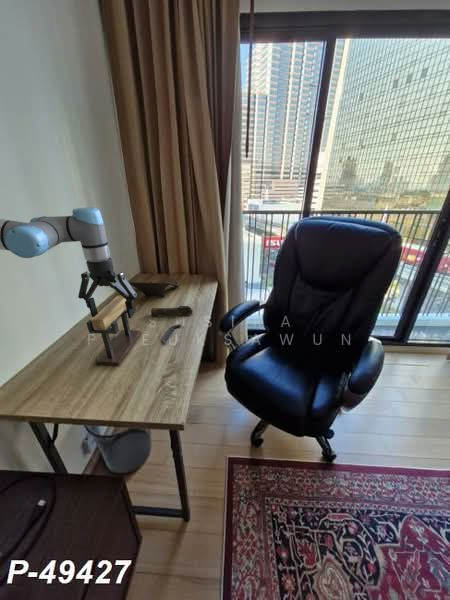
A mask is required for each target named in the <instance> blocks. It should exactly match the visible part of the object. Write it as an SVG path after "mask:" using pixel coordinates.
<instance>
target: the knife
mask: <svg viewBox="0 0 450 600" xmlns="http://www.w3.org/2000/svg"><path fill="white" fill-rule="evenodd" d="M181 327H182V325H181V324H174V325H172V326H171V327H170V328H169V329H168V330H167V332H166V334H165V335H164V337H162V341H163V343H164V344H165V345H166V344H167V343H168V342H169V340H170V339H171V338H172V336H173V335H174V333H175V331H176V330H175V329H177V328H181Z"/></svg>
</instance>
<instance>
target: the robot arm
mask: <svg viewBox="0 0 450 600" xmlns="http://www.w3.org/2000/svg"><path fill="white" fill-rule="evenodd" d="M71 212H72V215H66V216H62V215H60V216H59V215H58V216H46V215H44V216H43V215H42V216H38V217H37V216H36V217H32V218H31V219H30V221H29V222H26V221H25V222H24V221H17V220H10V219H5V218H0V250H1V251H7V252H11V253H12V254H13V255H15V256H17V257H19V258H22V259H32V258H36V257H39V256H41V255H43V254H45V253H46V252H48V251H50V249H53V248H54V247H56V246H58V245H60V244H61V243H73V242H74V243H75V242H76V243H77V242H80V245H81V249H82V252H83V253H82V254H83V256H84V260H86V262H85V264H86V267H87V271H84V272H83V273H81V274H80V278H81V282H80V287H79V291H78V295H77V298H78V299H83V300H84V301H85V305H86V308H88V309H89V312H90V315H91V318H93V317H95V316H96V315H97V314H98V313H99V312H98V307H97V304H96V300H95V297H92V296H93V295H94V293H95V291H96V289H97V288H98V286H99V287H110V288H111V289H113V290H114V291H116V292H117V293H118V294H119V296H122V297H124V298H125V299H126V301H125V305H126V309H127V313H126V314H127V319H131V318H133V316H134V315H135V313H133V308H134V304H135V302H134V301H135V300H136V298H138V294H137V292H136V291H135V289H134V287H133V286H132V285H130V284H129V282H130V281H128V279H127V278H126V276H125V272H124V271H121V272H117V273H116V272H115V271H114V264H113V259H112V258H111V252H110V245H109V242H108V238H107V233H106V228H105V222H104V221H103V216H102V213H101V210H100V209H98V208H97V207H91V206H90V207H89V206H87V207H79V208H78V207H76V208H73V209H72V211H71ZM90 279H91V280H92V281H93V282H92V283H91V285H90V287H89V282H90ZM88 287H89V289H88ZM133 302H134V303H133Z"/></svg>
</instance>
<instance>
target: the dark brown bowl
mask: <svg viewBox="0 0 450 600" xmlns="http://www.w3.org/2000/svg"><path fill="white" fill-rule="evenodd" d="M128 282H129V284H130V285H131V286H132V287H133V288H136V289H137V290H138V291H140V292H141V293H142V294H143V296H144V297H146V298H147V297H149V298H151V297H157V298H164V297H165V290H166V288H167V287H171V288H175V289H180V285H179V284H178V282H177V281H176V282H175V283H171V282H153V281H150V282H146V281H145V282H144V281H143V282H141V281H140V282H138V281H128Z"/></svg>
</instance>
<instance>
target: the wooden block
mask: <svg viewBox="0 0 450 600" xmlns="http://www.w3.org/2000/svg"><path fill="white" fill-rule="evenodd" d="M110 301H111V302H110ZM110 301H109V302H110V303H109V302H108V303H109V304H108V303H107V305H105V306H104V307H103V308H102V309H101V310H100V311H99V312H98V314H97V315H96V316H95V317H91V319H90V320H91V321H92V324H93V327H94V330H97V331H108V330H109V329H110V328H112V327H111V323H112V322H113V321H117V322H118V320H119V319H121V315H122V314H123V313H124V312H125V311H126V310H127V309H126V305H125V301H126V299H125V298H124V297H122V296H121V295H116V296H115V297H114V298H113V299H112V300H110Z"/></svg>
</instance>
